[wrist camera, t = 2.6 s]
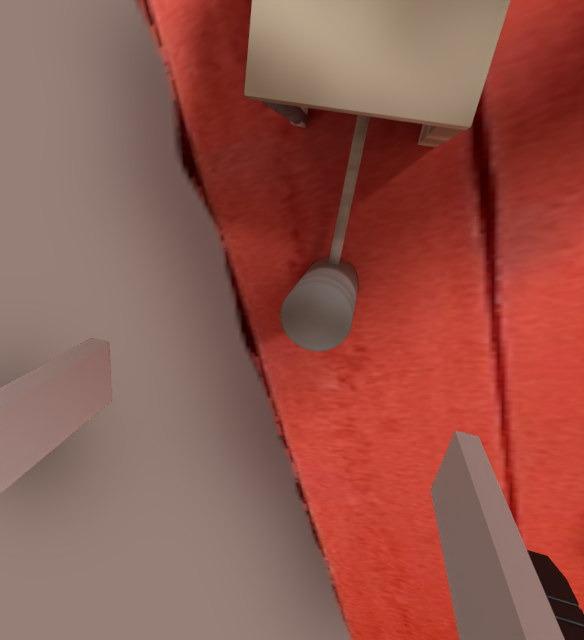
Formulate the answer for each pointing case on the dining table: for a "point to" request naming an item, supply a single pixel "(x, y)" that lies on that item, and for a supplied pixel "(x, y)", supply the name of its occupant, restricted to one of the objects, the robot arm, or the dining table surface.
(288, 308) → the tethered cylinder
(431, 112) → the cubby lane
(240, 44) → the dining table surface
